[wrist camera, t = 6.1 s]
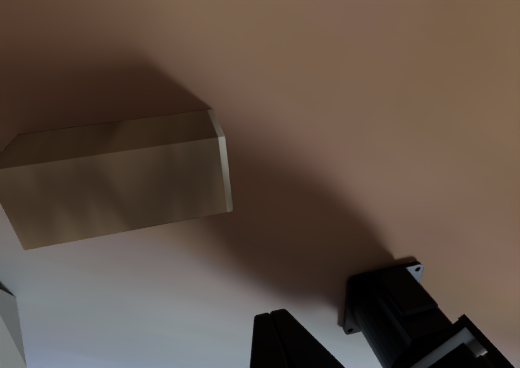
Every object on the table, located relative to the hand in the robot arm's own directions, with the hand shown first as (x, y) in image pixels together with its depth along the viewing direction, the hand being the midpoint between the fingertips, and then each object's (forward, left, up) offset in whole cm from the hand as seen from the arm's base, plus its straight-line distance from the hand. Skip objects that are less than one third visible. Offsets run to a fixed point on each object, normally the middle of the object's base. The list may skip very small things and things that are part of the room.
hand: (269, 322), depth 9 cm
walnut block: (0, 0, -11) cm, 11 cm away
